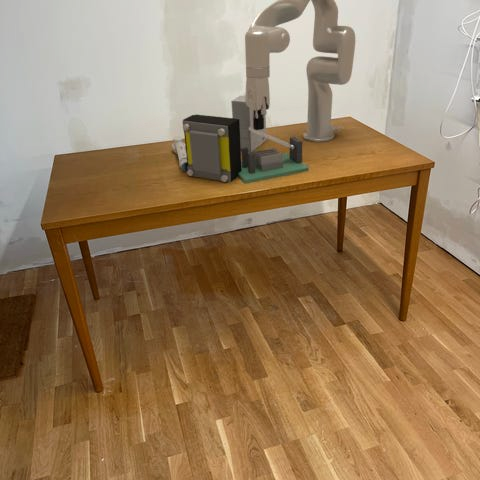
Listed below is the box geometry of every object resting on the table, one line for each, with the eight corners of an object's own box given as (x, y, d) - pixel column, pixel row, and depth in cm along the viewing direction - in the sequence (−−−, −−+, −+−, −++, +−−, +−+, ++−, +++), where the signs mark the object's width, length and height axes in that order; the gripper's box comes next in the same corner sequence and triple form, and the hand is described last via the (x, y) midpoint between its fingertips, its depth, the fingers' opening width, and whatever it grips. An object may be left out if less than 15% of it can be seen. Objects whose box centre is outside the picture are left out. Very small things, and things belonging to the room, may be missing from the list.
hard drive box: (250, 138, 196) (248, 90, 186) (266, 140, 193) (266, 91, 183) (233, 150, 184) (230, 100, 174) (251, 153, 181) (249, 101, 171)
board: (288, 156, 176) (288, 132, 172) (308, 170, 163) (309, 145, 159) (228, 167, 169) (227, 143, 165) (245, 183, 156) (244, 157, 152)
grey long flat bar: (288, 146, 168) (290, 143, 167) (294, 150, 164) (296, 146, 164) (247, 129, 159) (248, 125, 158) (252, 132, 155) (253, 128, 155)
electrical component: (185, 177, 164) (179, 121, 154) (200, 167, 172) (195, 113, 161) (228, 185, 157) (225, 127, 146) (242, 174, 164) (240, 118, 154)
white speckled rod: (178, 163, 165) (170, 133, 184) (180, 179, 169) (171, 148, 188) (193, 161, 166) (183, 131, 185) (194, 177, 170) (184, 146, 189)
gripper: (238, 69, 153) (240, 124, 162) (256, 77, 141) (257, 136, 150) (259, 67, 155) (260, 122, 165) (278, 75, 143) (278, 133, 153)
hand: (258, 128), depth 157 cm, fingers closed
